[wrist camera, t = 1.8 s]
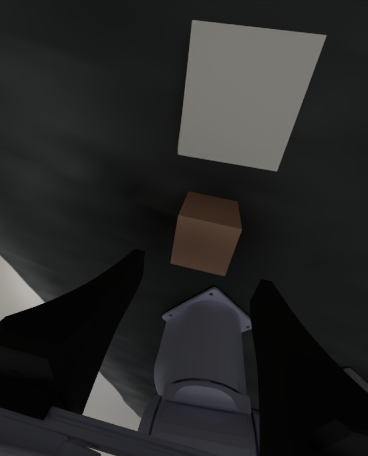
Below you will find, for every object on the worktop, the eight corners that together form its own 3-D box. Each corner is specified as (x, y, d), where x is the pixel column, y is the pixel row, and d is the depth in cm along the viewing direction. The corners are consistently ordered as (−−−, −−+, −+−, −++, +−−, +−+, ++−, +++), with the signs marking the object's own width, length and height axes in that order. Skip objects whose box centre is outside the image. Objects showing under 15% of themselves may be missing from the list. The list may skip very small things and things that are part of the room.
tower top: (266, 160, 13) (276, 171, 11) (186, 147, 14) (177, 154, 11) (301, 54, 11) (326, 35, 8) (199, 41, 11) (192, 20, 9)
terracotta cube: (224, 241, 20) (224, 276, 16) (181, 231, 21) (170, 263, 16) (237, 201, 18) (242, 229, 14) (188, 190, 18) (178, 215, 14)
